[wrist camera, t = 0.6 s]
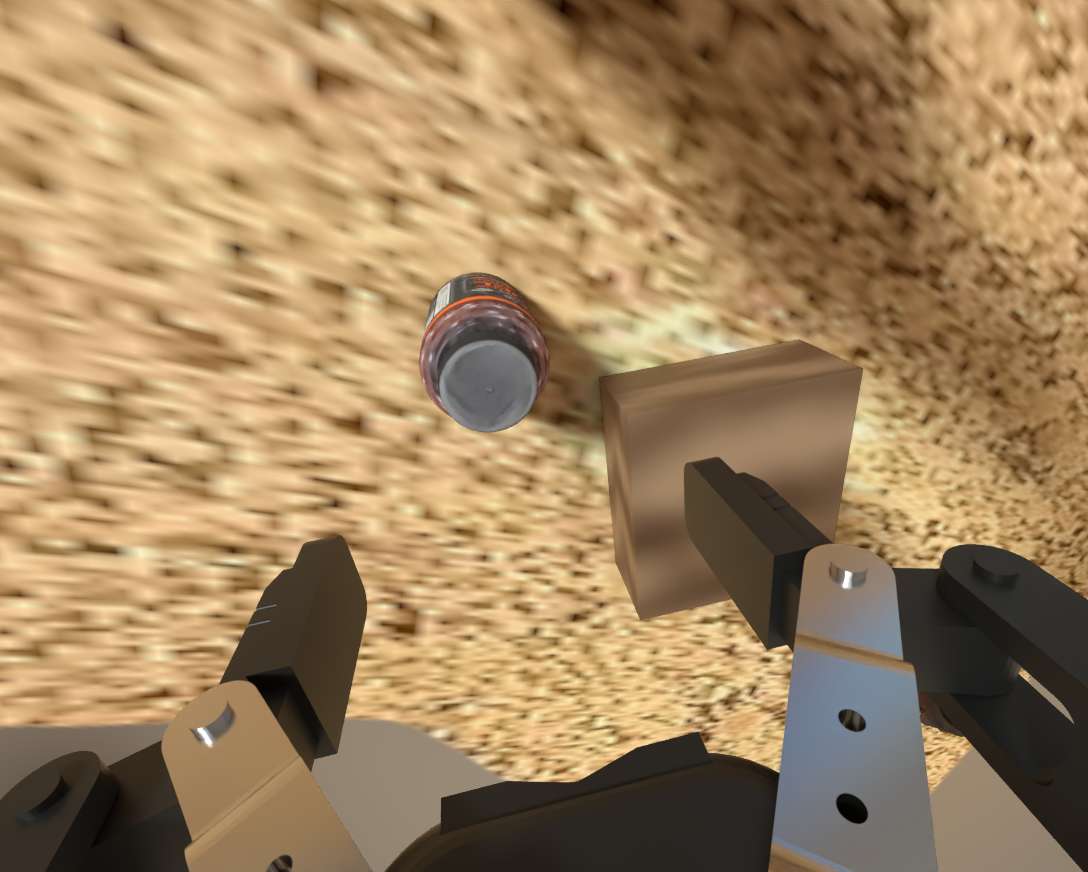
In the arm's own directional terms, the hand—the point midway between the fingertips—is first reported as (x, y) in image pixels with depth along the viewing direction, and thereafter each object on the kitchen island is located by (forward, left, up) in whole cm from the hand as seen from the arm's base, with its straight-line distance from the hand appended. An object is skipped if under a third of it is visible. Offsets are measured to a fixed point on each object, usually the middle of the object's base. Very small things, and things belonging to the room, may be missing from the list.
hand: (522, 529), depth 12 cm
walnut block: (+13, +14, -21) cm, 28 cm away
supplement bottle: (0, 0, -21) cm, 21 cm away
